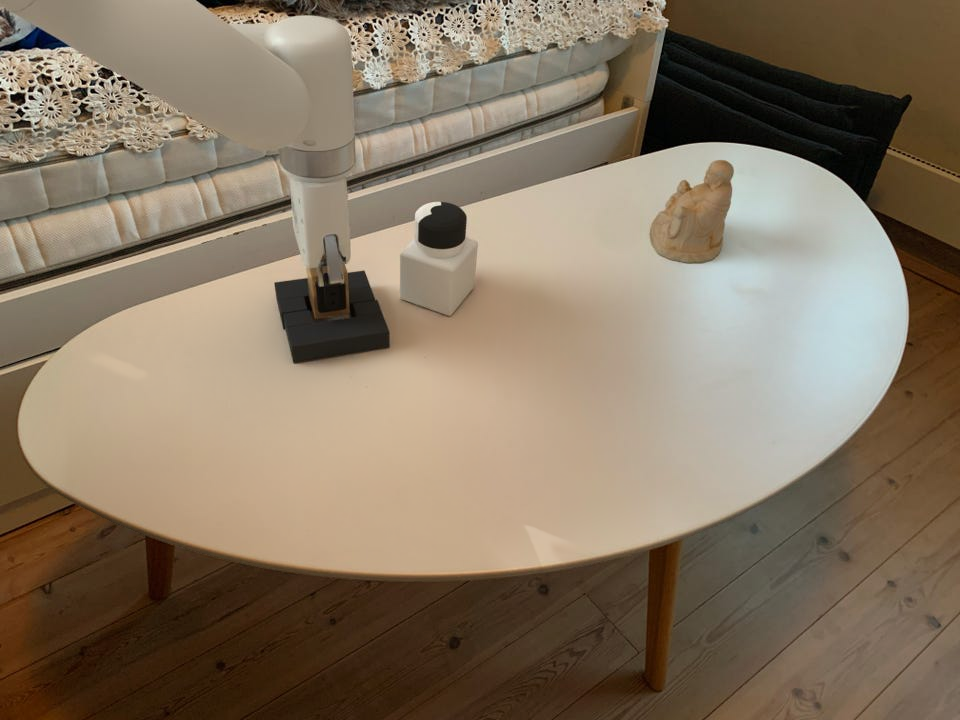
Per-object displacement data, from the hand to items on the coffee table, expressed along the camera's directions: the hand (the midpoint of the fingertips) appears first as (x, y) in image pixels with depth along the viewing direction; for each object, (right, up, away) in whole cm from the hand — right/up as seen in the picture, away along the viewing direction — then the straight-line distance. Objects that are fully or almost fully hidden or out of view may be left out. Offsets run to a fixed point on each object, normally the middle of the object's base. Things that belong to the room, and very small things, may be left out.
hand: (328, 295), depth 90 cm
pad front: (+1, -5, +1) cm, 5 cm away
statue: (+47, +10, +22) cm, 53 cm away
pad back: (-1, -1, +5) cm, 5 cm away
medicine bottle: (+12, +1, +8) cm, 15 cm away
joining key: (0, -1, +1) cm, 2 cm away
